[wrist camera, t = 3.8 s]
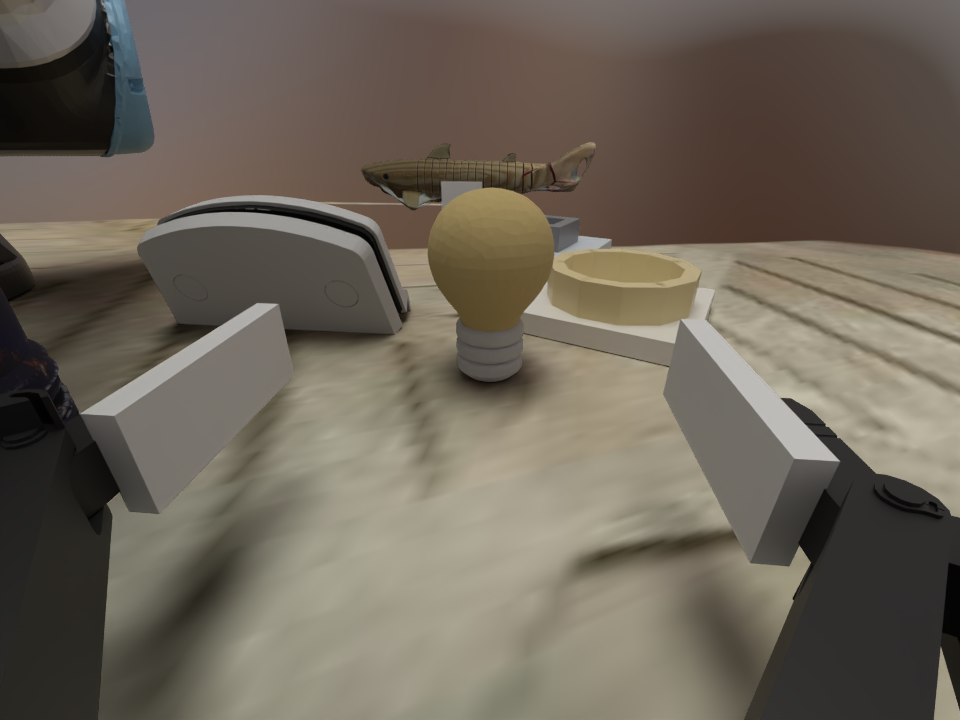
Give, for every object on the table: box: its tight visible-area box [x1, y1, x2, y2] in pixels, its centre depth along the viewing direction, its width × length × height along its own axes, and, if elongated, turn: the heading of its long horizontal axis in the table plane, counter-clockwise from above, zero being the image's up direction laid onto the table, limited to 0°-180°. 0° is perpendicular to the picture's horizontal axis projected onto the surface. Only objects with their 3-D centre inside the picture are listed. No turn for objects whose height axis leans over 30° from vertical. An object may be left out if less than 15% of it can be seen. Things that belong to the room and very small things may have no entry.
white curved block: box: [137, 195, 411, 334], centre depth 30 cm, size 17×5×10 cm, turn 83°
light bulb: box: [428, 188, 554, 382], centre depth 23 cm, size 6×6×10 cm
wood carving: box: [361, 142, 596, 210], centre depth 67 cm, size 9×35×11 cm, turn 89°
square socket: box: [545, 215, 612, 257], centre depth 48 cm, size 12×12×4 cm
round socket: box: [520, 249, 715, 366], centre depth 32 cm, size 12×12×4 cm
